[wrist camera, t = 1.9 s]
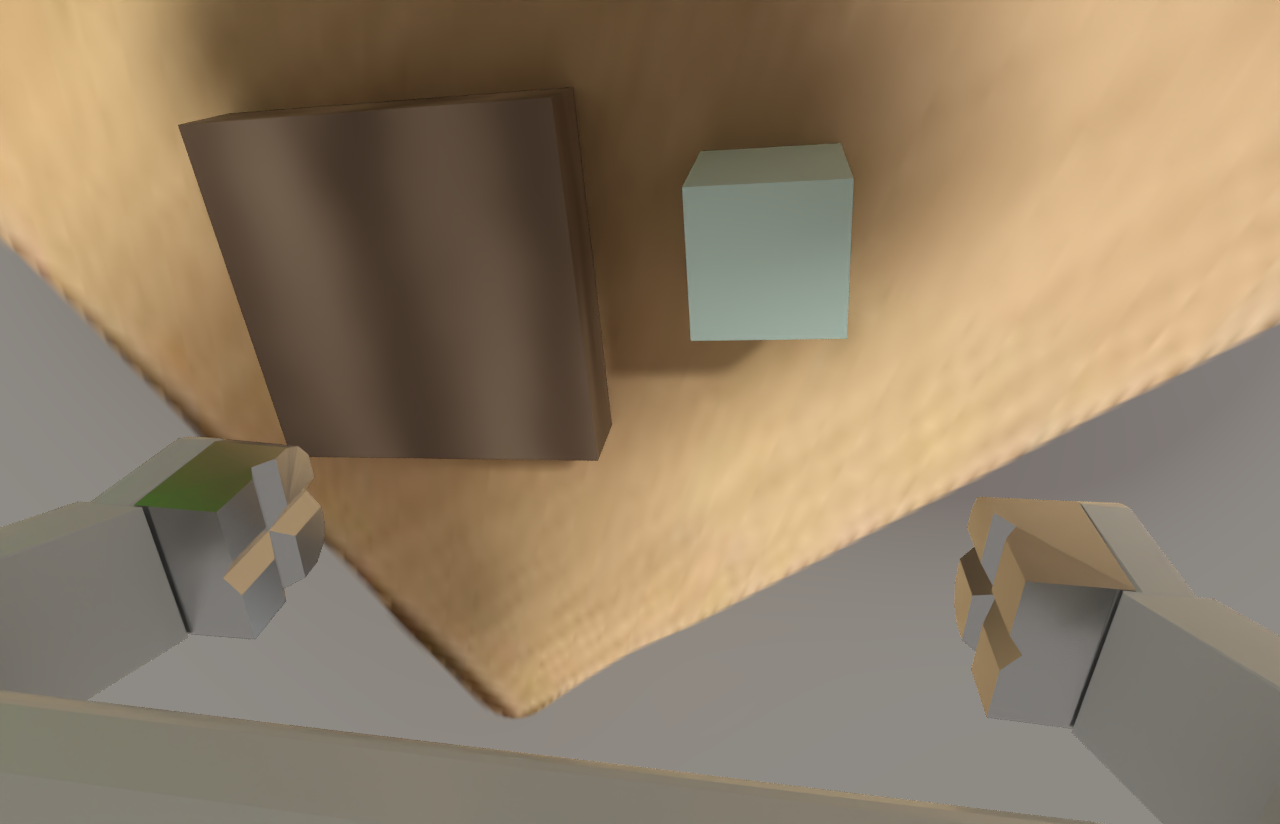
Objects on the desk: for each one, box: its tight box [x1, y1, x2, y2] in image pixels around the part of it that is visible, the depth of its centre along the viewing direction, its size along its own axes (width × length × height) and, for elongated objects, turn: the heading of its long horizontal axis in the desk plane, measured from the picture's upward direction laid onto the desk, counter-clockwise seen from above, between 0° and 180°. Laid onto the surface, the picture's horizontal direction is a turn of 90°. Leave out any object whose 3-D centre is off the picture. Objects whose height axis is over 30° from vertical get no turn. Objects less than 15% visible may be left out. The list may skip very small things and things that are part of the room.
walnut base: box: [178, 87, 612, 461], centre depth 31 cm, size 14×14×3 cm
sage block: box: [682, 143, 854, 341], centre depth 27 cm, size 5×5×6 cm
